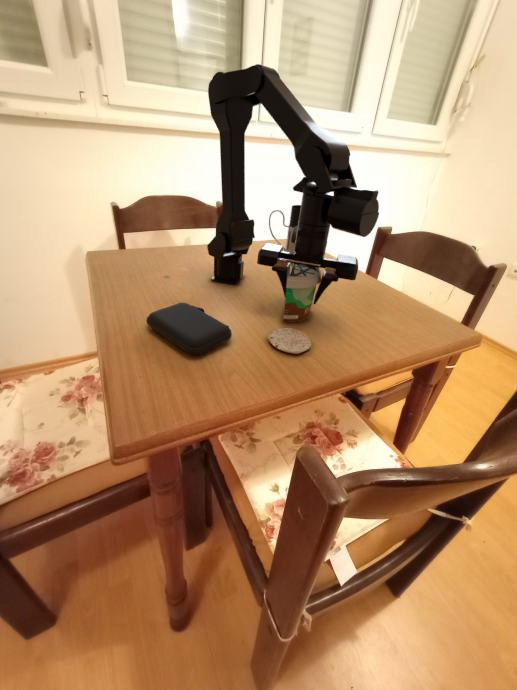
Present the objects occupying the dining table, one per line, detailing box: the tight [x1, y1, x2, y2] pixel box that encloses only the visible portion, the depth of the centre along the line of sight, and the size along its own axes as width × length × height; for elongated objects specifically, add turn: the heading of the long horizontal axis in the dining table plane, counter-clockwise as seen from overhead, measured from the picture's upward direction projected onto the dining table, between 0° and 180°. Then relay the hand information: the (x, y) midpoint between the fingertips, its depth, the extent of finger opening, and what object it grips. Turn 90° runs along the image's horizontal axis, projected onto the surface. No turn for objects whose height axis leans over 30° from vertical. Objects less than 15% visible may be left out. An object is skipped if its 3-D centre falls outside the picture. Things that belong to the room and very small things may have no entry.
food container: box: [282, 263, 322, 323], centre depth 63 cm, size 12×6×10 cm, turn 168°
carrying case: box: [146, 302, 233, 356], centre depth 56 cm, size 11×3×15 cm
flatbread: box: [267, 327, 312, 355], centre depth 56 cm, size 8×8×1 cm
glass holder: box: [268, 204, 301, 265], centre depth 92 cm, size 9×14×15 cm, turn 89°
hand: (300, 300), depth 65 cm, fingers closed on food container, 5 cm apart
